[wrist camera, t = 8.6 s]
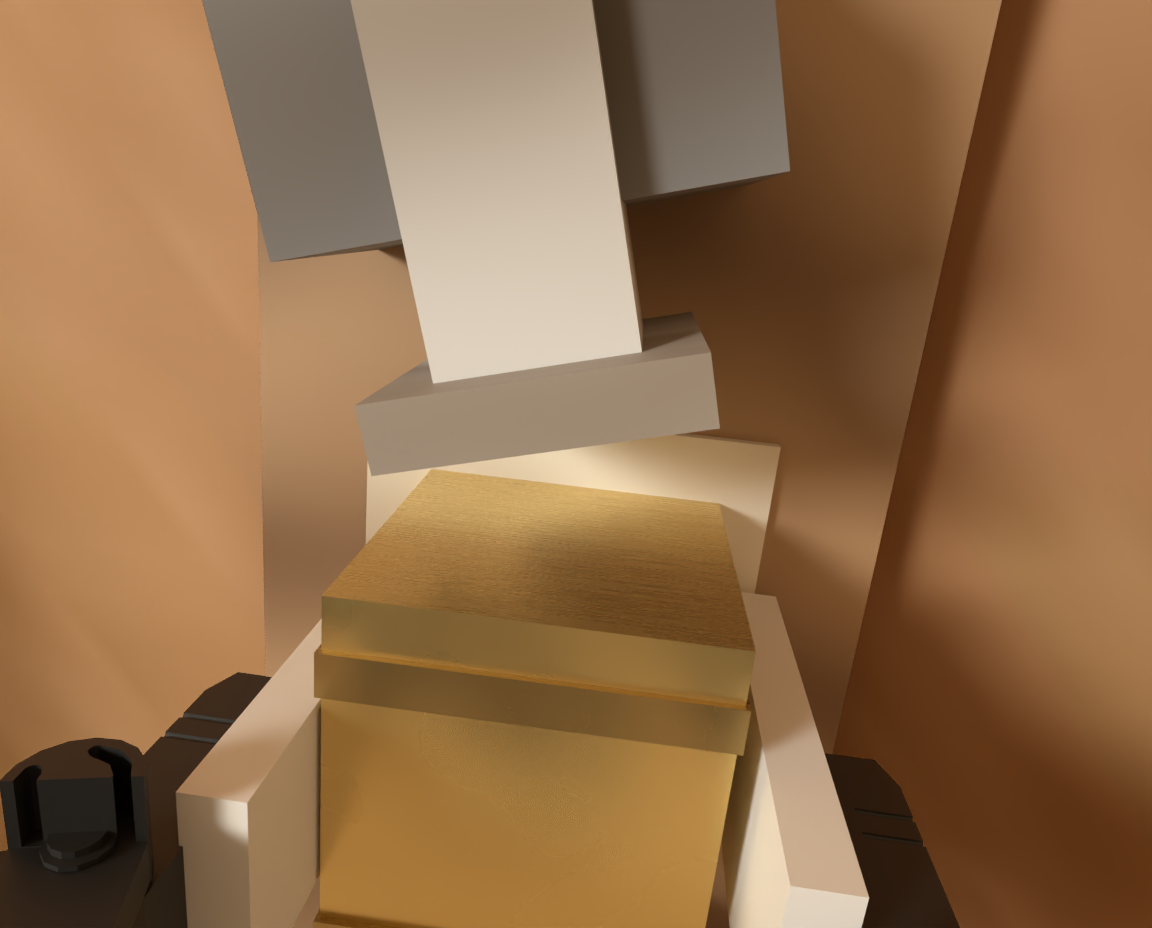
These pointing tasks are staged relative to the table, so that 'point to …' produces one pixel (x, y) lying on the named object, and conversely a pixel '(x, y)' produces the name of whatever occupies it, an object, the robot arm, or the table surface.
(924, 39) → the shaft bed
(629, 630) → the block
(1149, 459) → the table surface
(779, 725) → the robot arm
